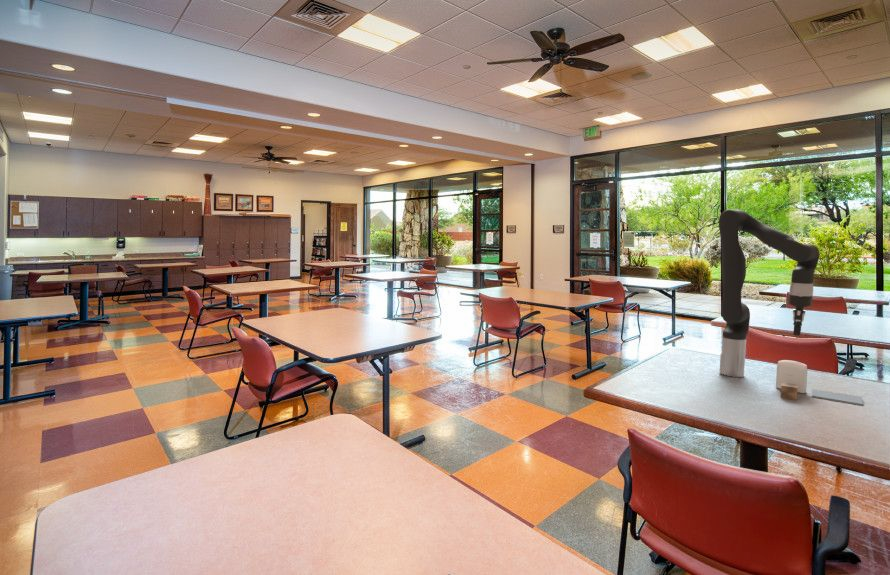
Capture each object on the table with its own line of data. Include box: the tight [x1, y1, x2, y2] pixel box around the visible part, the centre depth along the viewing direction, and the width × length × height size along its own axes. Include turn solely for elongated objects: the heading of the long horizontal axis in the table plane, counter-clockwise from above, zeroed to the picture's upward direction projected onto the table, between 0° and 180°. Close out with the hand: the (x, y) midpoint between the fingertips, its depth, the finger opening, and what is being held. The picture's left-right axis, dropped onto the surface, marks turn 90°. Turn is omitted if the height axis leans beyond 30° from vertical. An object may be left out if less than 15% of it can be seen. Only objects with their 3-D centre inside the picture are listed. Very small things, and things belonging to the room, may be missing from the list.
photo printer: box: [775, 359, 808, 394], centre depth 188 cm, size 10×4×12 cm, turn 39°
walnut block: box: [780, 382, 799, 401], centre depth 181 cm, size 5×5×5 cm
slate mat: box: [811, 388, 864, 406], centre depth 180 cm, size 15×10×1 cm, turn 51°
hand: (797, 333), depth 186 cm, fingers open, 8 cm apart
